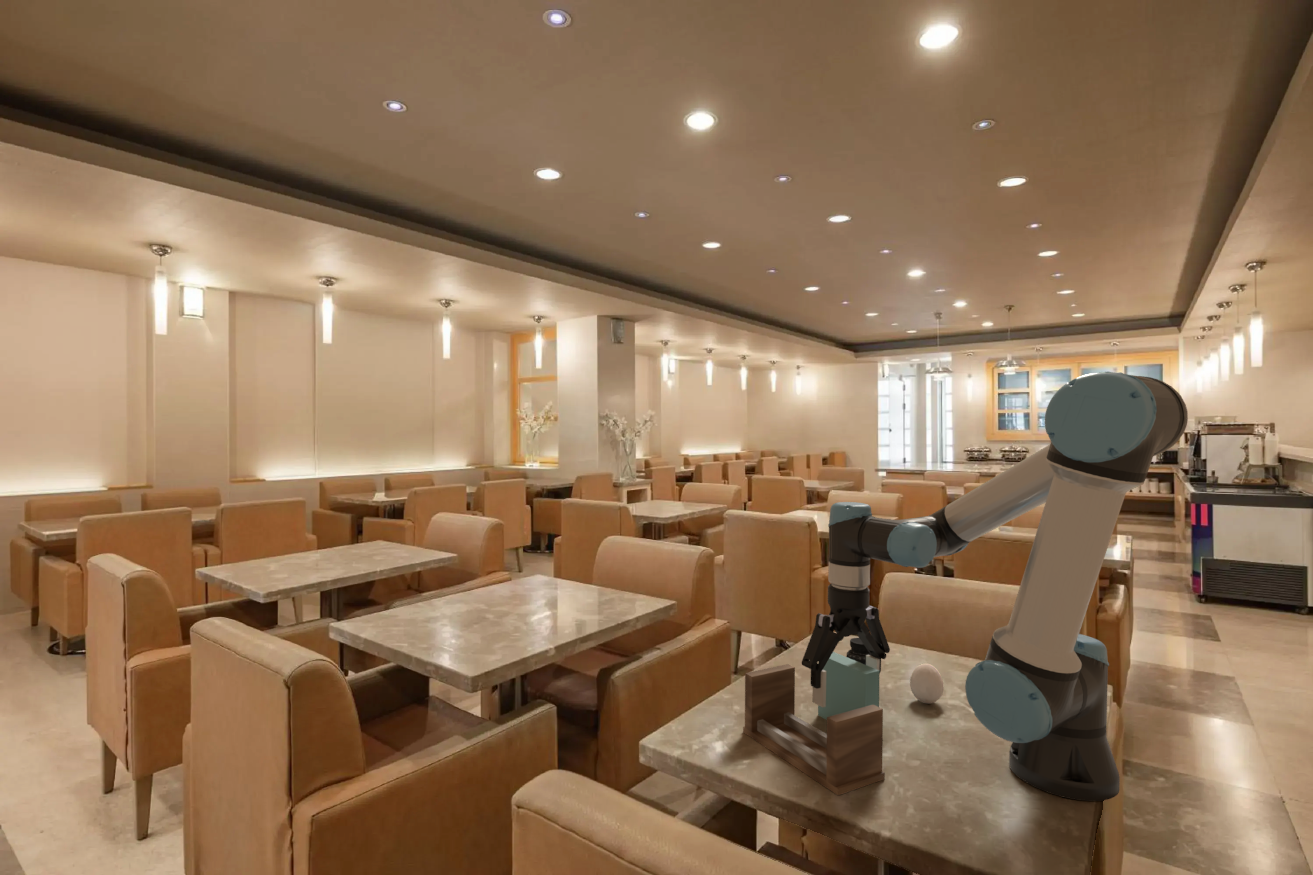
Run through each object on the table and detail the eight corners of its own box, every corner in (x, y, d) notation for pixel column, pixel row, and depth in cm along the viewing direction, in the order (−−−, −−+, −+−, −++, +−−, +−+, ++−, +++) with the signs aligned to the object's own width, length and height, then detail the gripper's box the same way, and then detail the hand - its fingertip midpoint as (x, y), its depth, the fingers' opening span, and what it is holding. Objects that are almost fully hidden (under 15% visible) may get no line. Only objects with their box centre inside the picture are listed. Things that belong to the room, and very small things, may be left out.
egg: (922, 693, 140) (922, 656, 140) (950, 704, 135) (950, 665, 134) (903, 700, 136) (903, 662, 136) (930, 711, 131) (931, 671, 131)
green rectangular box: (878, 736, 120) (879, 670, 120) (864, 740, 119) (865, 673, 119) (831, 711, 131) (831, 651, 131) (818, 715, 129) (818, 653, 129)
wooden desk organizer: (884, 778, 106) (885, 710, 105) (838, 795, 101) (838, 723, 101) (785, 720, 127) (786, 663, 126) (743, 731, 122) (743, 672, 122)
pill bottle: (878, 699, 137) (878, 646, 137) (847, 697, 138) (847, 644, 138) (874, 688, 143) (874, 637, 143) (845, 685, 144) (845, 635, 144)
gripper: (880, 574, 134) (877, 678, 134) (783, 587, 122) (781, 702, 122) (910, 582, 127) (908, 692, 128) (811, 597, 115) (809, 718, 116)
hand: (846, 697), depth 125 cm, fingers open, 13 cm apart
